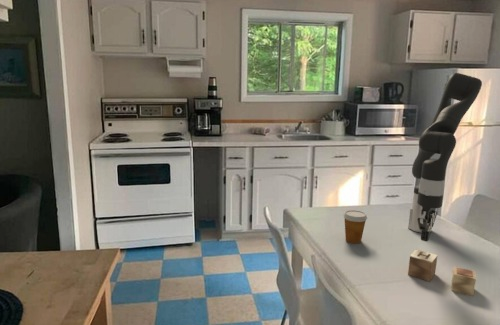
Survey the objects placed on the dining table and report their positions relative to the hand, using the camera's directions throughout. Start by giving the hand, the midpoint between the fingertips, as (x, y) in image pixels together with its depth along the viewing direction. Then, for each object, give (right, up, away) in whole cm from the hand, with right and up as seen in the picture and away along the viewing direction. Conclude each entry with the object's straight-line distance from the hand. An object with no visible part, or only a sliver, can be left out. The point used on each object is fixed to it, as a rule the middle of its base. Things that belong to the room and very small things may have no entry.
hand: (424, 240), depth 128 cm
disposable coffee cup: (-16, -6, +30) cm, 35 cm away
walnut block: (0, -5, +1) cm, 5 cm away
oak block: (+9, -14, -7) cm, 18 cm away
